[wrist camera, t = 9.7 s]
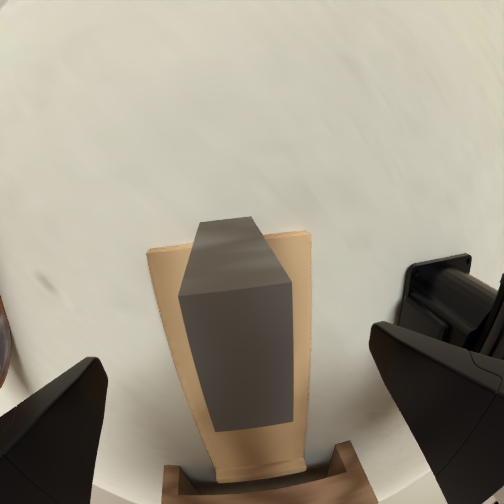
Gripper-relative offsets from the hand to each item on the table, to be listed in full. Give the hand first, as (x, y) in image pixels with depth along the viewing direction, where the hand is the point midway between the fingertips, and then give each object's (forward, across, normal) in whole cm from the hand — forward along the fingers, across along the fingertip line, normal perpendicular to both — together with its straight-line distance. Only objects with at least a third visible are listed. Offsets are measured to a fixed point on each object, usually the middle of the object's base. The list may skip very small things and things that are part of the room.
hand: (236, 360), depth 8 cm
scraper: (+7, 0, +8) cm, 11 cm away
